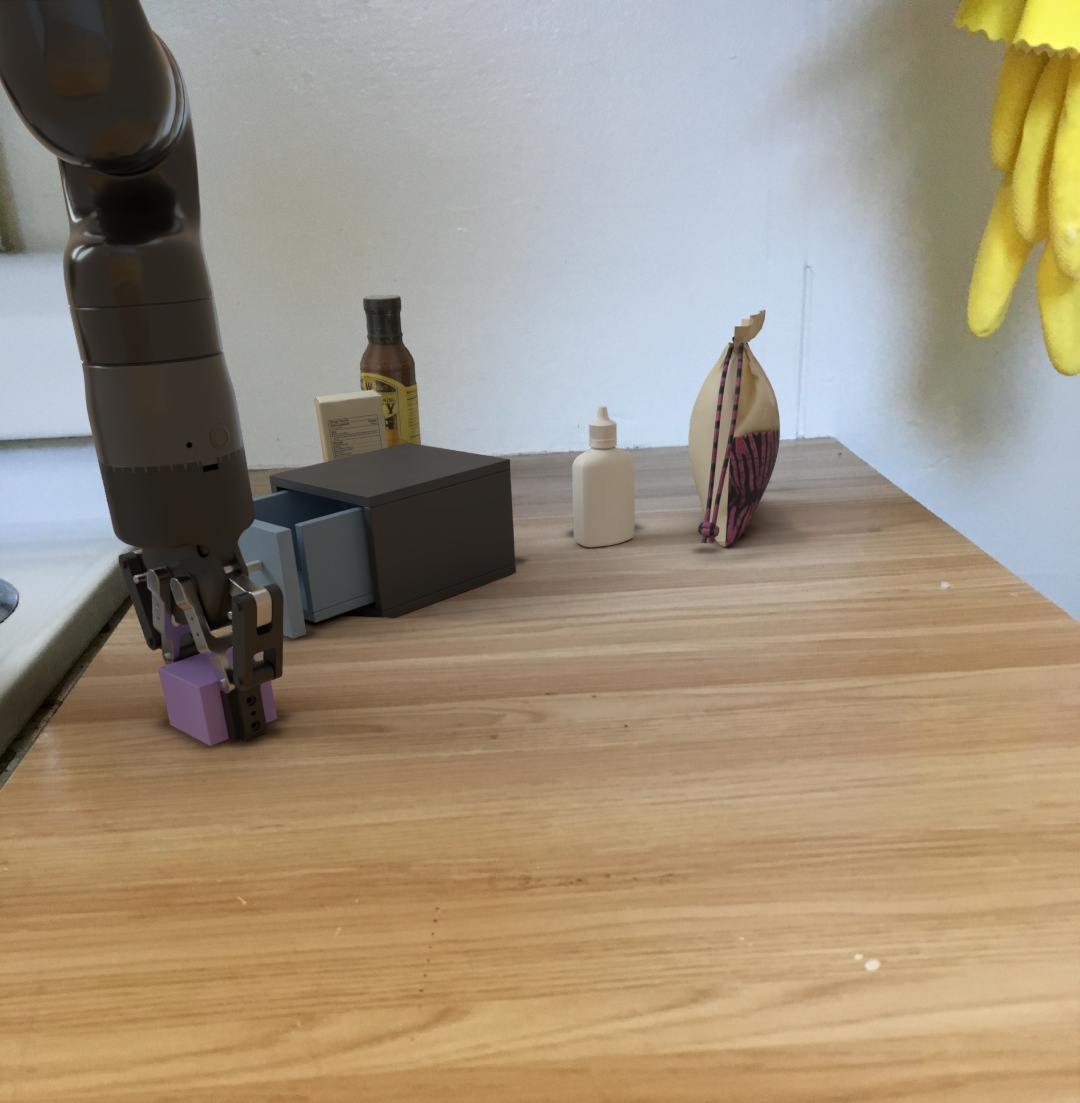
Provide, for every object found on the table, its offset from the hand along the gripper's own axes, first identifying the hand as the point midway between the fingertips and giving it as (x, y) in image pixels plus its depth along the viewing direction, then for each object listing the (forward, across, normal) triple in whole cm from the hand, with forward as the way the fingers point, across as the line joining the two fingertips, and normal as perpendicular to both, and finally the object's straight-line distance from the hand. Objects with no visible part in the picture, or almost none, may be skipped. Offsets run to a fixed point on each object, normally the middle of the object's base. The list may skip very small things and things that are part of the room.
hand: (225, 729), depth 64 cm
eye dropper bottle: (+1, -7, +44) cm, 45 cm away
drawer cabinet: (0, -14, +26) cm, 29 cm away
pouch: (+1, -1, +56) cm, 56 cm away
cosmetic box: (+1, -33, +36) cm, 49 cm away
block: (0, 0, 0) cm, 0 cm away
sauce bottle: (+1, -42, +49) cm, 65 cm away
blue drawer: (-1, -14, +15) cm, 20 cm away
